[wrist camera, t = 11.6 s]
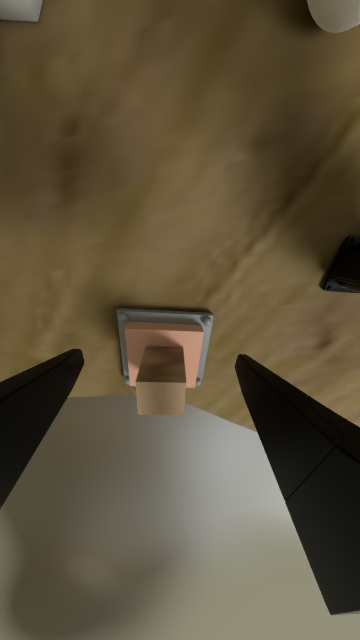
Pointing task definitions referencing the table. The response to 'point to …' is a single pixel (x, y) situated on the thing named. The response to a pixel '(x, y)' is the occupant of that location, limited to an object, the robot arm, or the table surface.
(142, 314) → the brick base
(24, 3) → the flask
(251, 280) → the table surface
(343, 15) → the sauce bottle
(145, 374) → the tan wooden block
